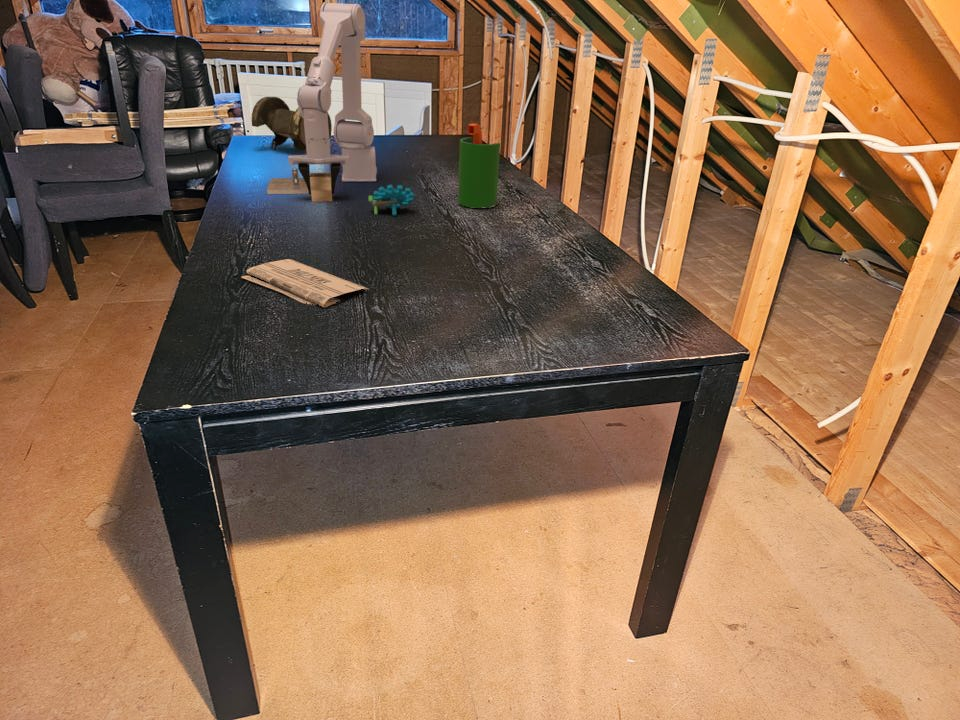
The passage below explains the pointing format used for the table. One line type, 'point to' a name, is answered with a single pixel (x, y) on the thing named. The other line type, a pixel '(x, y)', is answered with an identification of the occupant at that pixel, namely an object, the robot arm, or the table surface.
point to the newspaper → (301, 282)
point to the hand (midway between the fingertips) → (321, 193)
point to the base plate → (288, 185)
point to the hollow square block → (320, 187)
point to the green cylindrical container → (478, 170)
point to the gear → (391, 198)
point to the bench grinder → (281, 121)
